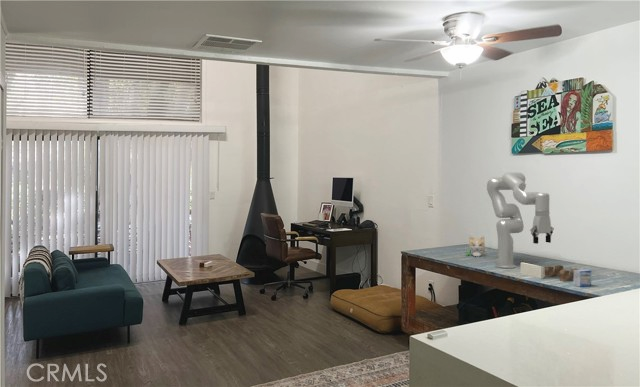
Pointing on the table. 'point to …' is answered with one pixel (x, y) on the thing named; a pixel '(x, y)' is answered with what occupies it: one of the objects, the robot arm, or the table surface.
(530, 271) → the cream rectangular block
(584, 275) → the medicine box
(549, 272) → the walnut rail
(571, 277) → the walnut rail
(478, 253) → the kitten
